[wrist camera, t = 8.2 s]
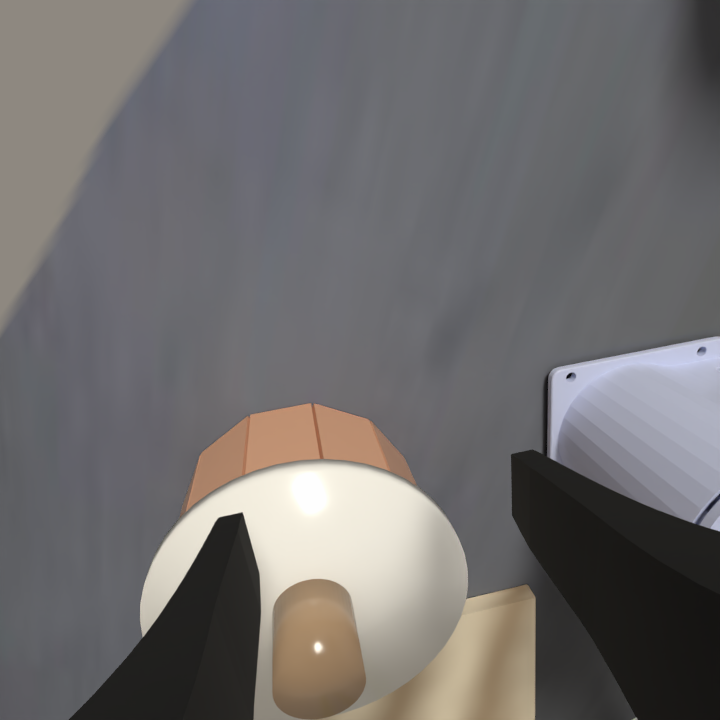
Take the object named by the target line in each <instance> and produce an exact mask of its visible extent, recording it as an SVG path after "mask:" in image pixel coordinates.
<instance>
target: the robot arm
mask: <svg viewBox="0 0 720 720" xmlns="http://www.w3.org/2000/svg"><path fill="white" fill-rule="evenodd" d="M699 348H700V350H699V351H698V349H699ZM697 351H698V352H697ZM571 372H572V374H571V376H570V378H568V379H566V377H567V375H568V374H569V373H571ZM511 472H512V516H513V518H514V520H515V522H516V524H517V526H518V528H519V530H520V531H521V533H522V535H523V537H524V539H525V541H526V543H527V544H528V546H529V548H530V550H531V551H532V553H533V554H534V555H535V557H536V558H537V560H538V561H539V563H540V564H541V566H542V567H543V568H544V570H545V571H546V573H547V574H548V576H549V577H550V578H551V580H552V581H553V583H554V584H555V585H556V587H557V588H558V590H559V591H560V592H561V594H562V595H563V597H564V598H565V599H566V601H567V602H568V604H569V605H570V606H571V608H572V609H573V611H574V612H575V614H576V615H577V616H578V618H579V619H580V621H581V622H582V624H583V625H584V627H585V628H586V630H587V631H588V633H589V634H590V636H591V637H592V639H593V641H594V642H595V644H596V646H597V648H598V649H599V651H600V653H601V655H602V656H603V658H604V660H605V662H606V663H607V665H608V667H609V669H610V670H611V672H612V674H613V675H614V677H615V679H616V681H617V683H618V685H619V686H620V688H621V690H622V692H623V694H624V696H625V697H626V699H627V701H628V703H629V705H630V706H631V708H632V710H633V712H634V714H635V716H636V717H637V719H638V720H720V337H710V338H705V339H700V340H695V341H690V342H685V343H680V344H675V345H669V346H664V347H659V348H654V349H649V350H644V351H639V352H634V353H628V354H623V355H618V356H613V357H608V358H603V359H598V360H593V361H587V362H582V363H577V364H572V365H567V366H562V367H557V368H555V369H553V370H552V371H551V372H550V374H549V377H548V430H547V456H545V455H543V454H541V453H539V452H537V451H534V450H529V451H524V452H519V453H515V454H511ZM260 622H261V594H260V573H259V570H258V566H257V562H256V559H255V555H254V551H253V548H252V544H251V540H250V537H249V533H248V529H247V526H246V522H245V519H244V515H243V512H241V513H237V514H232V515H227V516H223V517H219V518H218V519H217V520H216V522H215V523H214V525H213V527H212V529H211V531H210V533H209V535H208V536H207V538H206V540H205V542H204V544H203V546H202V547H201V549H200V551H199V553H198V555H197V556H196V558H195V560H194V562H193V563H192V565H191V567H190V568H189V570H188V572H187V573H186V575H185V577H184V578H183V580H182V582H181V583H180V585H179V586H178V588H177V590H176V591H175V592H174V594H173V595H172V597H171V598H170V600H169V601H168V603H167V604H166V606H165V607H164V609H163V610H162V612H161V613H160V615H159V616H158V618H157V619H156V620H155V622H154V623H153V625H152V626H151V627H150V629H149V630H148V631H147V633H146V634H145V635H144V637H143V638H142V639H141V640H140V642H139V643H138V644H137V645H136V647H135V648H134V649H133V651H132V652H131V653H130V654H129V655H128V657H127V658H126V659H125V660H124V661H123V663H122V664H121V665H120V666H119V667H118V668H117V669H116V670H115V671H114V673H113V674H112V675H111V676H110V677H109V678H108V679H107V680H106V681H105V683H104V684H103V685H102V686H101V687H100V688H99V689H98V690H97V691H96V693H95V694H94V695H93V696H92V697H91V698H90V699H89V700H88V701H87V702H86V703H85V704H84V705H83V706H82V707H81V708H80V709H79V710H78V711H77V712H76V713H75V714H74V715H73V716H72V717H71V718H70V719H69V720H254V700H255V687H256V674H257V661H258V649H259V635H260Z"/></svg>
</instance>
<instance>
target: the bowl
mask: <svg viewBox="0 0 720 720" xmlns="http://www.w3.org/2000/svg"><path fill="white" fill-rule="evenodd" d="M313 459H333V460H347V461H353V462H359V463H365V464H369V465H372V466H375V467H379V468H382V469H385V470H388V471H390V472H392V473H394V474H397V475H399V476H401V477H403V478H405V479H407V480H408V481H410V482H411V483H413V484H415V485H416V483H415V480H414V478H413V476H412V474H411V472H410V469H409V467H408V465H407V463H406V461H405V458H404V457H403V456H402V455H401V454H400V452H399V451H398V450H397V449H396V448H395V447H394V446H393V445H392V444H391V442H390V441H389V440H388V439H387V438H386V437H385V436H384V435H383V434H382V432H381V431H380V430H379V429H378V428H377V427H376V426H375V425H374V424H373V423H372V421H370V422H369V419H366V418H362V417H359V416H355V415H352V414H349V413H345V412H342V411H339V410H335V409H332V408H328V407H325V406H322V405H318V404H315V403H314V404H313V407H312V406H311V403H309V404H304V405H298V406H293V407H288V408H283V409H278V410H272V411H267V412H262V413H257V414H252V415H250V418H249V417H248V416H247V417H246V418H245V419H243V420H242V421H241V422H239V423H238V424H237V425H236V426H234V427H233V428H232V429H231V430H229V431H228V432H227V433H226V434H224V435H223V436H222V437H221V438H219V439H218V440H217V441H216V442H214V443H213V444H212V445H211V446H209V447H208V448H207V449H206V450H204V451H203V452H202V454H201V455H200V457H199V459H198V462H197V465H196V468H195V471H194V474H193V477H192V480H191V483H190V485H189V488H188V491H187V494H186V497H185V500H184V503H183V506H182V510H181V514H180V517H181V516H182V515H183V514H184V513H185V512H186V511H187V510H188V509H190V508H191V507H192V506H193V505H194V504H195V503H196V502H198V501H199V500H201V499H202V498H203V497H205V496H206V495H207V494H209V493H210V492H211V491H213V490H215V489H217V488H219V487H220V486H222V485H224V484H226V483H227V482H229V481H231V480H233V479H236V478H238V477H240V476H243V475H245V474H247V473H250V472H252V471H255V470H259V469H262V468H265V467H269V466H272V465H276V464H281V463H287V462H293V461H298V460H313ZM416 486H417V485H416Z"/></svg>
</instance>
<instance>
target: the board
mask: <svg viewBox="0 0 720 720" xmlns="http://www.w3.org/2000/svg"><path fill="white" fill-rule="evenodd" d="M535 607H536V598H535V596H534V594H533V593H532V591H531V589H530V588H529V586H528V585H527V584H526V585H522V586H518V587H514V588H510V589H506V590H502V591H497V592H493V593H489V594H485V595H481V596H477V597H473V598H468V599H466V602H465V605H464V608H463V612H462V615H461V618H460V620H459V622H458V624H457V626H456V628H455V631H454V632H453V634H452V635H451V637H450V639H449V640H448V642H447V643H446V645H445V646H444V647H443V649H442V650H441V651H440V652H439V654H438V655H437V656H436V657H435V658H434V659H433V660H432V661H431V662H430V663H429V664H428V665H427V666H426V667H425V668H424V669H423V670H422V671H421V672H420V673H419V674H417V675H416V676H415V677H414V678H412V679H411V680H410V681H409V682H407V683H406V684H404V685H403V686H401V687H400V688H398V689H397V690H395V691H394V692H392V693H390V694H388V695H386V696H384V697H382V698H381V699H379V700H377V701H374V702H372V703H370V704H367V705H365V706H363V707H360V708H358V709H355V710H352V711H348V712H345V713H342V714H339V715H334V716H330V717H326V718H322V719H314V720H535Z"/></svg>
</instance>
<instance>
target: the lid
mask: <svg viewBox="0 0 720 720" xmlns="http://www.w3.org/2000/svg"><path fill="white" fill-rule="evenodd" d="M241 512H243V515H244V519H245V522H246V526H247V529H248V533H249V537H250V540H251V544H252V548H253V551H254V555H255V559H256V562H257V566H258V570H259V573H260V594H261V622H260V635H259V649H258V661H257V674H256V687H255V700H254V720H314V719H322V718H326V717H330V716H334V715H339V714H342V713H345V712H348V711H352V710H355V709H358V708H360V707H363V706H365V705H367V704H370V703H372V702H374V701H377V700H379V699H381V698H382V697H384V696H386V695H388V694H390V693H392V692H394V691H395V690H397V689H398V688H400V687H401V686H403V685H404V684H406V683H407V682H409V681H410V680H411V679H412V678H414V677H415V676H416V675H417V674H419V673H420V672H421V671H422V670H423V669H424V668H425V667H426V666H427V665H428V664H429V663H430V662H431V661H432V660H433V659H434V658H435V657H436V656H437V655H438V654H439V652H440V651H441V650H442V649H443V647H444V646H445V645H446V643H447V642H448V640H449V639H450V637H451V635H452V634H453V632H454V631H455V628H456V626H457V624H458V622H459V620H460V618H461V615H462V612H463V608H464V605H465V602H466V596H467V589H468V569H467V564H466V558H465V554H464V551H463V549H462V546H461V543H460V541H459V538H458V536H457V534H456V532H455V530H454V528H453V526H452V525H451V523H450V521H449V520H448V518H447V516H446V515H445V513H444V512H443V510H442V509H441V508H440V507H439V506H438V504H437V503H436V502H435V501H434V500H433V499H432V498H431V497H430V496H429V495H428V494H426V493H425V492H424V491H423V490H422V489H421V488H419V487H418V486H416V485H415V484H413V483H411V482H410V481H408V480H407V479H405V478H403V477H401V476H399V475H397V474H394V473H392V472H390V471H388V470H385V469H382V468H379V467H375V466H372V465H369V464H365V463H359V462H353V461H347V460H333V459H313V460H298V461H293V462H287V463H281V464H276V465H272V466H269V467H265V468H262V469H259V470H255V471H252V472H250V473H247V474H245V475H243V476H240V477H238V478H236V479H233V480H231V481H229V482H227V483H226V484H224V485H222V486H220V487H219V488H217V489H215V490H213V491H211V492H210V493H209V494H207V495H206V496H205V497H203V498H202V499H201V500H199V501H198V502H196V503H195V504H194V505H193V506H192V507H191V508H190V509H188V510H187V511H186V512H185V513H184V514H183V515H182V516H181V517H180V518H179V519H178V520H177V521H176V523H175V524H174V525H173V526H172V528H171V529H170V530H169V531H168V533H167V534H166V535H165V537H164V539H163V540H162V542H161V544H160V545H159V547H158V549H157V551H156V552H155V555H154V558H153V560H152V563H151V565H150V568H149V571H148V574H147V577H146V581H145V584H144V588H143V593H142V598H141V603H140V623H141V629H142V635H143V637H144V635H145V634H146V633H147V631H148V630H149V629H150V627H151V626H152V625H153V623H154V622H155V620H156V619H157V618H158V616H159V615H160V613H161V612H162V610H163V609H164V607H165V606H166V604H167V603H168V601H169V600H170V598H171V597H172V595H173V594H174V592H175V591H176V590H177V588H178V586H179V585H180V583H181V582H182V580H183V578H184V577H185V575H186V573H187V572H188V570H189V568H190V567H191V565H192V563H193V562H194V560H195V558H196V556H197V555H198V553H199V551H200V549H201V547H202V546H203V544H204V542H205V540H206V538H207V536H208V535H209V533H210V531H211V529H212V527H213V525H214V523H215V522H216V520H217V519H218V518H219V517H223V516H227V515H232V514H237V513H241Z"/></svg>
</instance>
